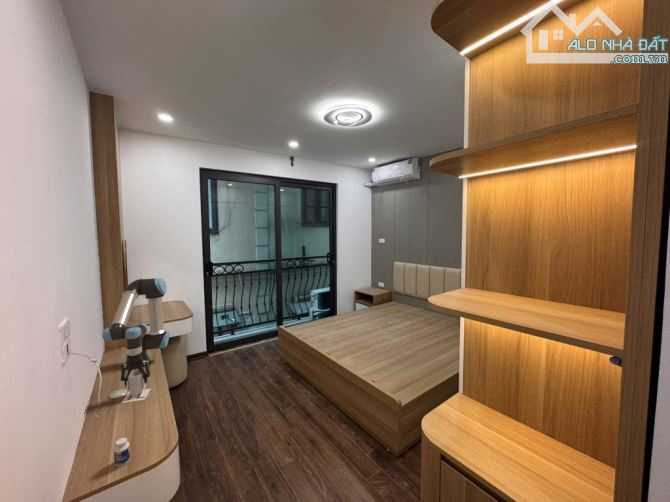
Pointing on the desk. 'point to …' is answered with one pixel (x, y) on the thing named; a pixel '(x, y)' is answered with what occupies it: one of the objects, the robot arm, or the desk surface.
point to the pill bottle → (121, 452)
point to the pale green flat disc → (118, 393)
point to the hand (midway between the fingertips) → (136, 389)
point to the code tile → (136, 396)
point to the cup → (135, 382)
